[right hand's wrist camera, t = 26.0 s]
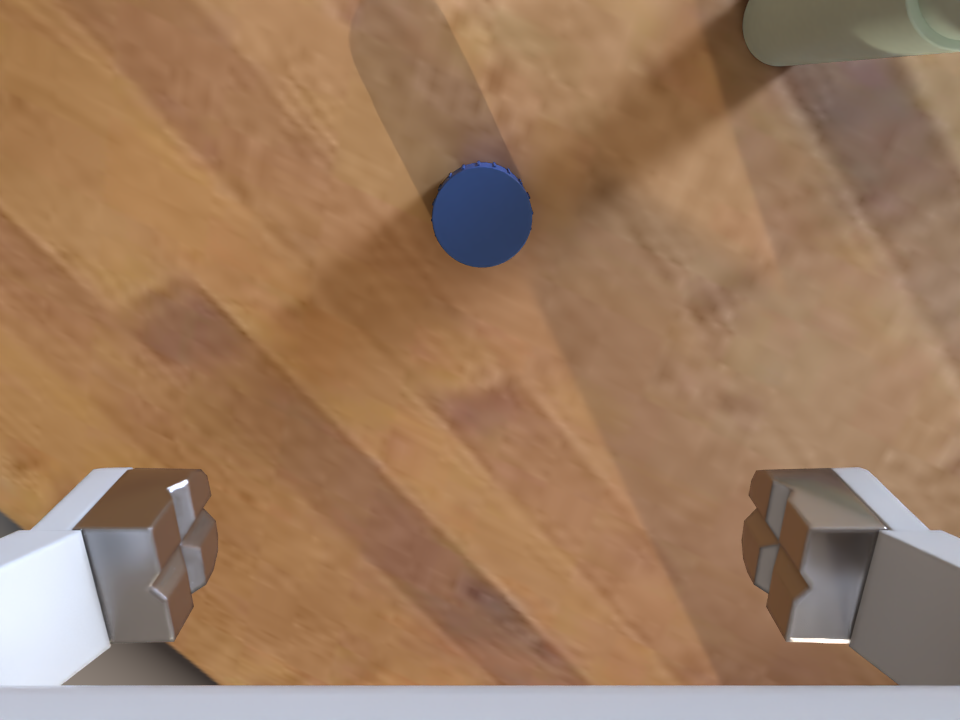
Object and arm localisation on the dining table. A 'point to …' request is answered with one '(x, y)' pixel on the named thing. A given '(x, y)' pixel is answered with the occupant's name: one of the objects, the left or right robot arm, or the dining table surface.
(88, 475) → the right robot arm
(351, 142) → the dining table surface
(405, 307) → the dining table surface
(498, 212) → the lid
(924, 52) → the jar
